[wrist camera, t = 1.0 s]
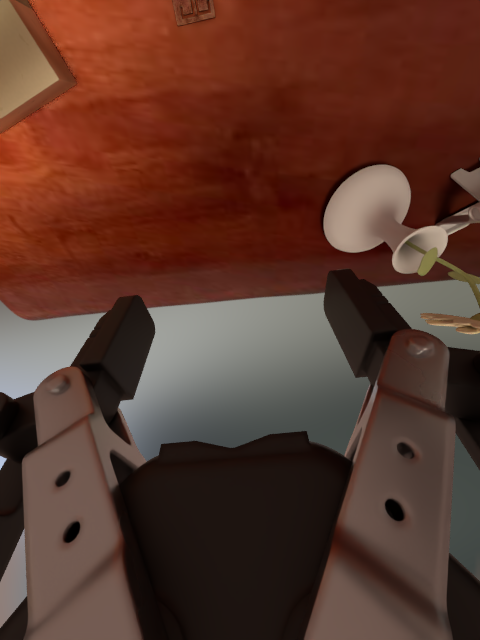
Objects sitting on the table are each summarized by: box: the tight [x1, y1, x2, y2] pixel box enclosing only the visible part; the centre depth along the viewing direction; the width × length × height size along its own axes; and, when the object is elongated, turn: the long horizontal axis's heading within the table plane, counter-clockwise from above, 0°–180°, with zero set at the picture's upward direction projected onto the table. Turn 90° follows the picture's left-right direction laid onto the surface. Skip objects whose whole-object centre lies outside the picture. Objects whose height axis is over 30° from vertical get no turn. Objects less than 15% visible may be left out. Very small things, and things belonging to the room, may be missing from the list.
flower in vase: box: [324, 165, 480, 334], centre depth 24 cm, size 13×11×25 cm
